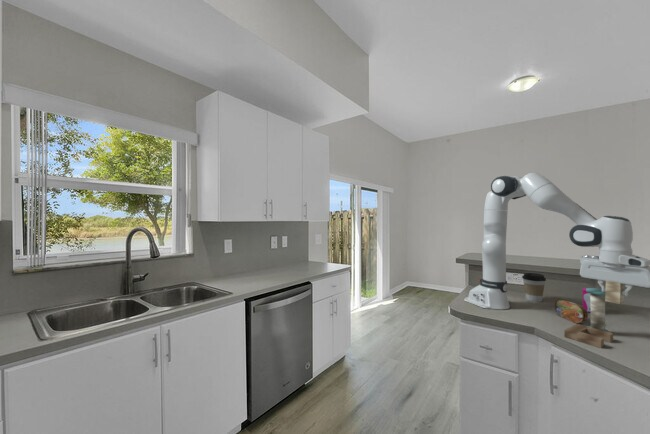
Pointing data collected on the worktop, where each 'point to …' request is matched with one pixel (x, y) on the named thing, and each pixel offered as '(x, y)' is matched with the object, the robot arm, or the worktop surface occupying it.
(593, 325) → the bobbin post
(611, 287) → the maple block
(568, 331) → the notched board
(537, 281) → the coffee cup
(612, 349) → the worktop surface
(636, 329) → the worktop surface
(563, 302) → the tin
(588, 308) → the supplement box
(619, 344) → the worktop surface
